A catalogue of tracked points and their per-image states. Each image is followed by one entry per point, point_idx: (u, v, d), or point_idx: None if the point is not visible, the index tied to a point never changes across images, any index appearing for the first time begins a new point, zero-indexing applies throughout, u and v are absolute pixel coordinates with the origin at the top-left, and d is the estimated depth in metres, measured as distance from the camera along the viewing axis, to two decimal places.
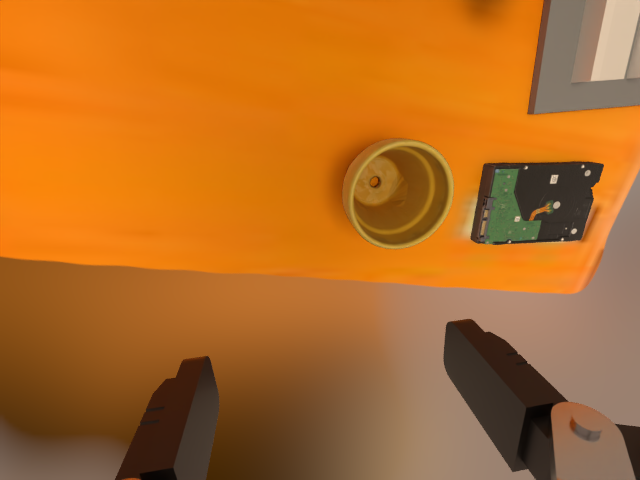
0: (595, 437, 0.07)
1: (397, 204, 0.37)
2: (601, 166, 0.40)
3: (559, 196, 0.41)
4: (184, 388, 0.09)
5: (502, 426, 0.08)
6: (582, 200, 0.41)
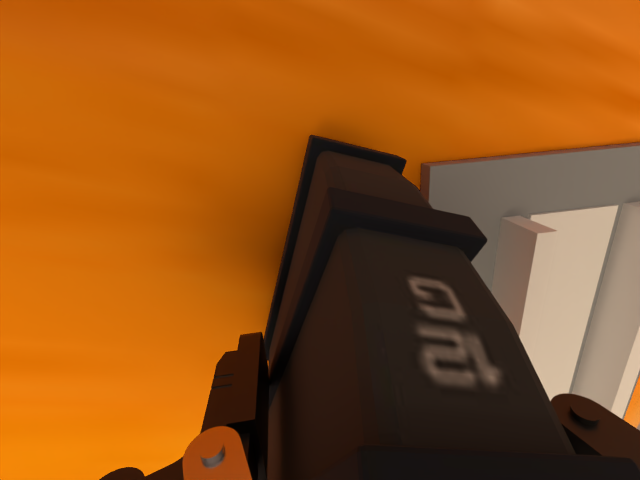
0: None
1: None
2: None
3: None
4: (248, 357, 0.10)
5: None
6: None
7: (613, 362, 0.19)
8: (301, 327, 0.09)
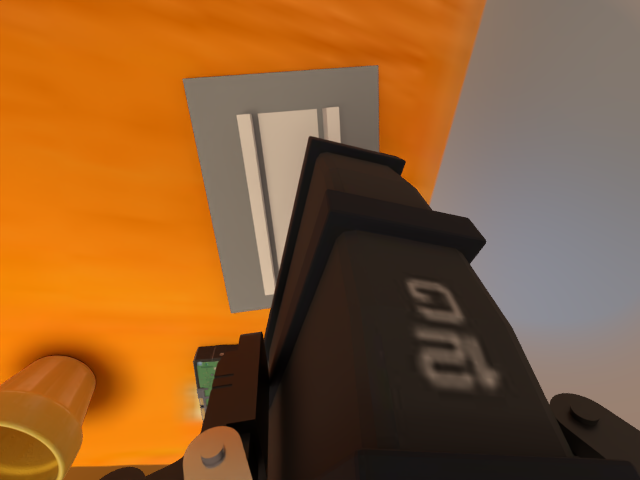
0: None
1: None
2: None
3: None
4: (248, 357, 0.10)
5: None
6: None
7: None
8: (300, 328, 0.09)
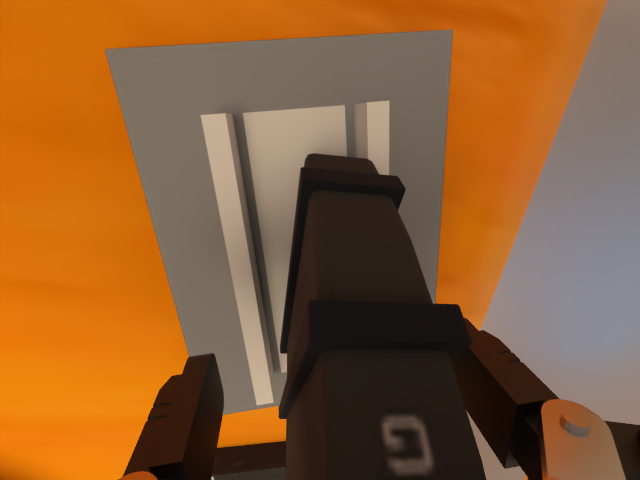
0: (584, 433, 0.07)
1: None
2: None
3: None
4: (190, 384, 0.09)
5: (494, 423, 0.09)
6: None
7: None
8: (302, 386, 0.10)
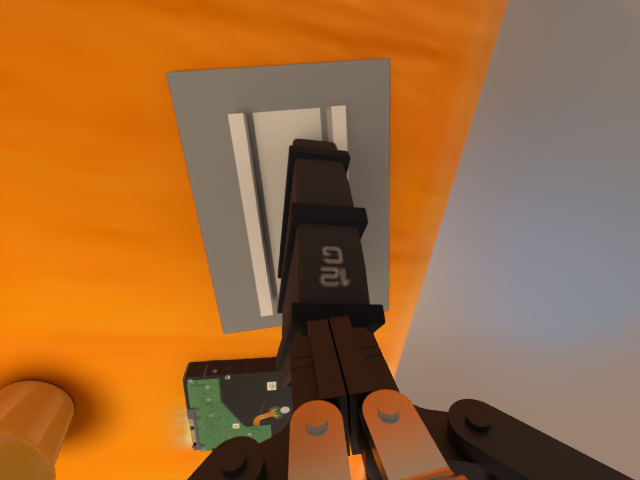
0: (390, 420, 0.07)
1: None
2: None
3: (285, 401, 0.33)
4: (322, 341, 0.10)
5: None
6: None
7: None
8: (290, 263, 0.18)
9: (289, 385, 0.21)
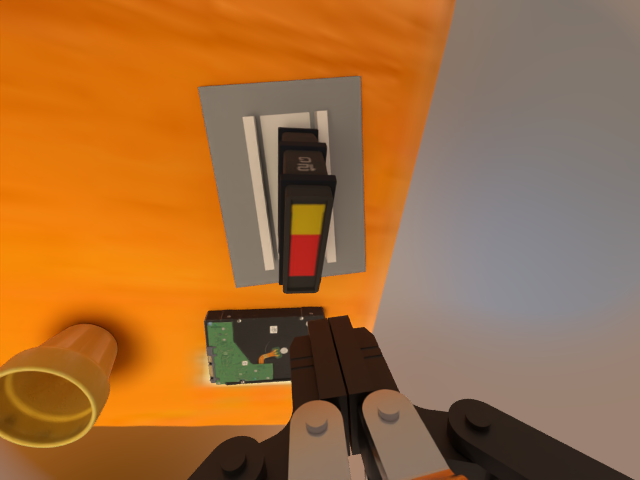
0: (389, 420, 0.07)
1: None
2: (321, 317, 0.41)
3: (284, 343, 0.41)
4: (322, 341, 0.10)
5: None
6: None
7: None
8: None
9: (289, 290, 0.28)
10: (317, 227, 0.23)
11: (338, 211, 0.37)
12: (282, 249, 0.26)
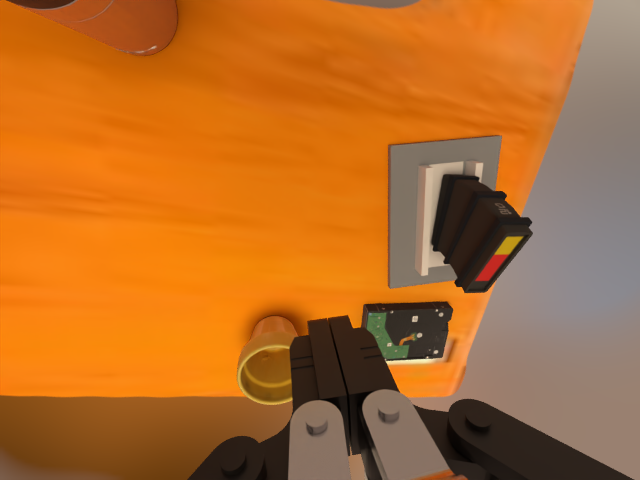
0: (389, 420, 0.07)
1: (289, 355, 0.51)
2: (451, 310, 0.53)
3: (420, 329, 0.54)
4: (322, 341, 0.10)
5: None
6: (439, 331, 0.55)
7: None
8: (466, 223, 0.40)
9: (468, 290, 0.41)
10: (510, 249, 0.36)
11: None
12: (474, 263, 0.38)
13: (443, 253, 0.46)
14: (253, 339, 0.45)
